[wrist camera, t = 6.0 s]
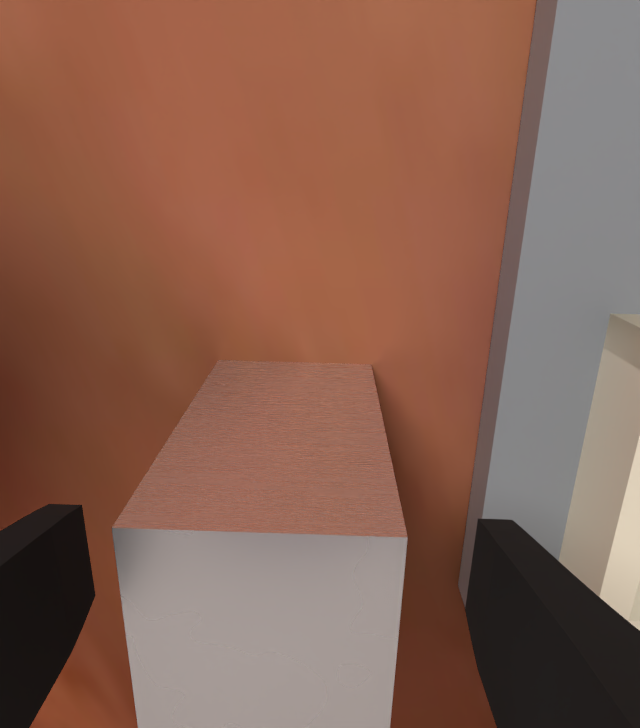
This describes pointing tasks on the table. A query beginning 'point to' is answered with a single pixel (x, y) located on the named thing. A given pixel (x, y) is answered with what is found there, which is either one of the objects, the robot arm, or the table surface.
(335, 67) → the table surface
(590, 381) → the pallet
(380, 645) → the block
